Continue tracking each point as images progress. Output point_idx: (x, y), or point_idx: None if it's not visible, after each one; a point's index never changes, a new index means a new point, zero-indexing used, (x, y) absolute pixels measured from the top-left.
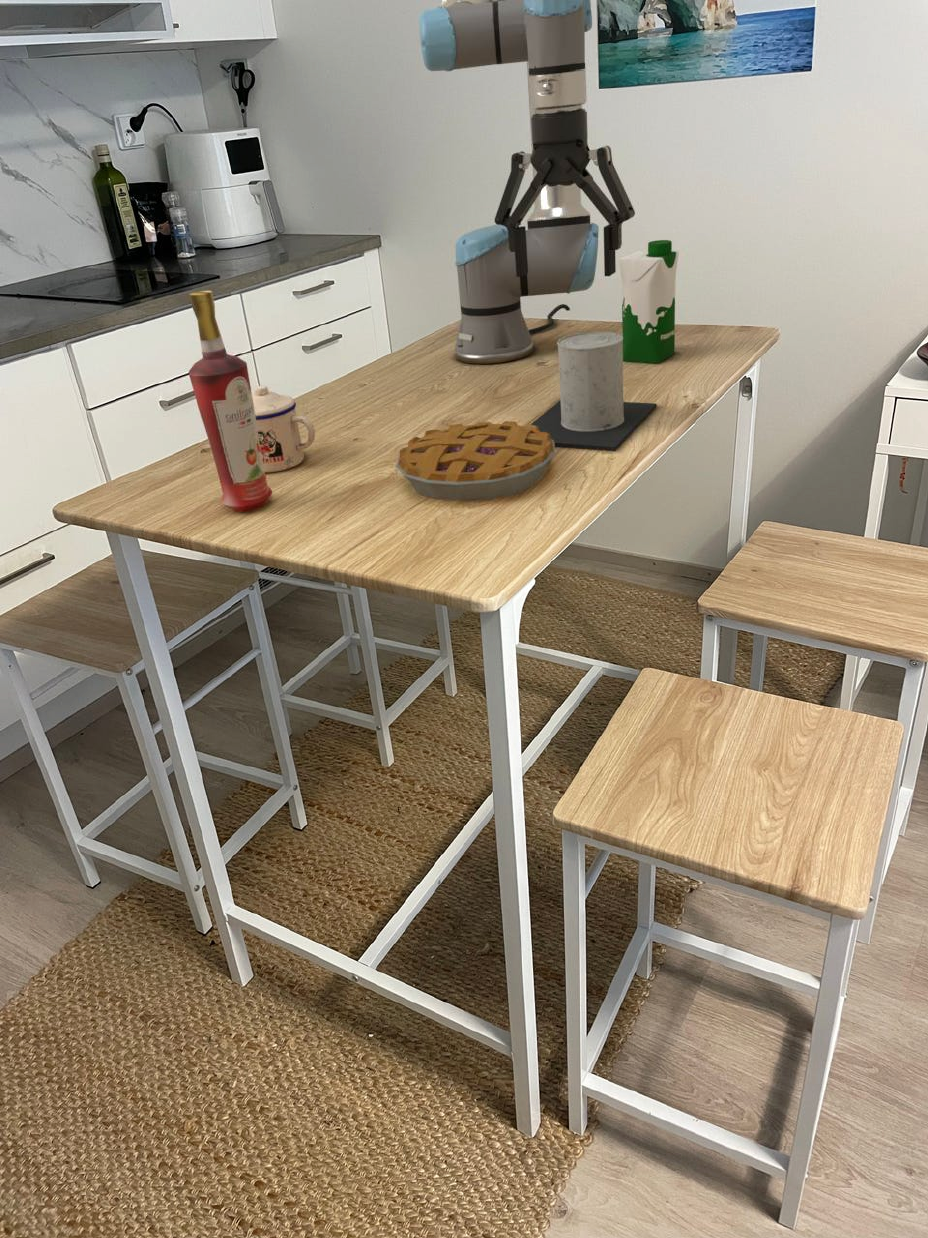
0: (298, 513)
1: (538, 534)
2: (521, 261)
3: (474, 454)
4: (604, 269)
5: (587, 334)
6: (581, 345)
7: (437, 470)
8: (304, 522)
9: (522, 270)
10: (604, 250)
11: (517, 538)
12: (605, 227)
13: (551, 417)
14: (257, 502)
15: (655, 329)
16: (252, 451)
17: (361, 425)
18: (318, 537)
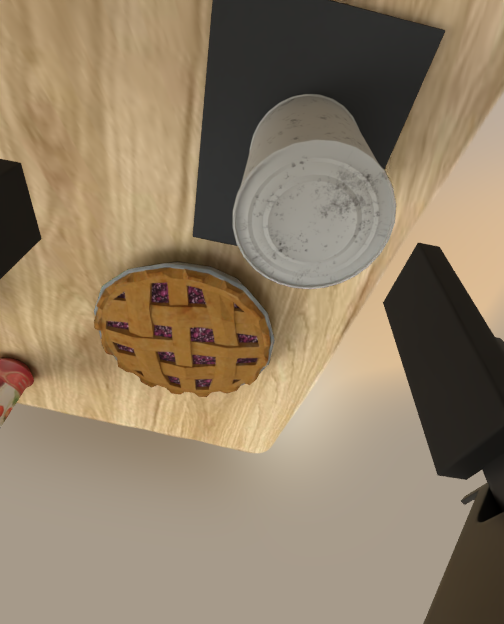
0: (72, 378)
1: (279, 407)
2: (3, 258)
3: (196, 372)
4: (388, 318)
5: (301, 160)
6: (294, 260)
7: (168, 377)
8: (90, 390)
9: (25, 232)
10: (408, 374)
11: (265, 410)
12: (447, 476)
13: (225, 130)
14: (32, 383)
15: None
16: (5, 417)
17: None
18: (119, 406)
